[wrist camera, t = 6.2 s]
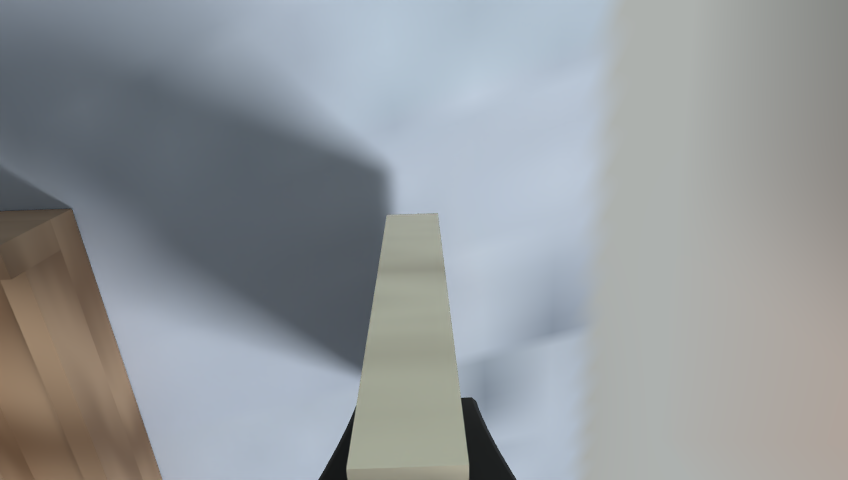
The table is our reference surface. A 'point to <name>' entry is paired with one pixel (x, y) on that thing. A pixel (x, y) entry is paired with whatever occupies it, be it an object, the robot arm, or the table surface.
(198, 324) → the table surface
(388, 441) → the birch block
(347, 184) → the table surface
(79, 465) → the walnut rack
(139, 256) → the table surface
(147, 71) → the table surface
